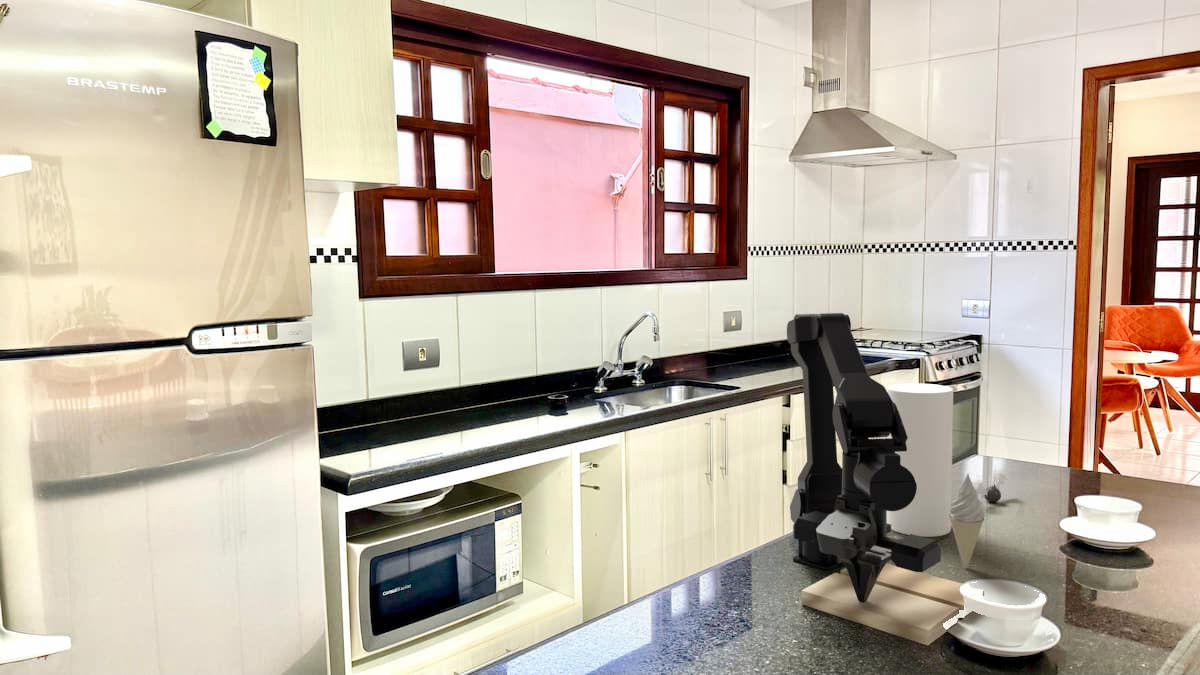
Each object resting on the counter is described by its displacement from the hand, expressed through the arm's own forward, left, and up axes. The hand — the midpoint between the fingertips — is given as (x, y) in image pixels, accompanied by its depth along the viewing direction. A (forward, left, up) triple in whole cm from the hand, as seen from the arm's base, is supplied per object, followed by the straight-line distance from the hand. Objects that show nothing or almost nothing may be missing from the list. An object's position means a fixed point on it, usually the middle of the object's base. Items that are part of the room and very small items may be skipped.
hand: (862, 601), depth 110 cm
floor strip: (+1, +12, -2) cm, 12 cm away
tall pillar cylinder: (-11, +40, -2) cm, 42 cm away
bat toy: (-7, +63, -2) cm, 64 cm away
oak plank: (+1, +2, -2) cm, 3 cm away
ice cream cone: (+3, +26, -2) cm, 26 cm away
